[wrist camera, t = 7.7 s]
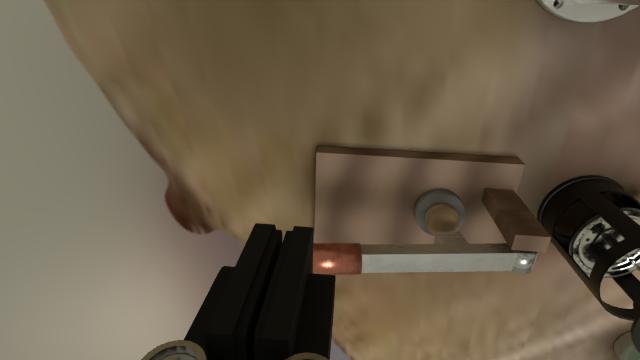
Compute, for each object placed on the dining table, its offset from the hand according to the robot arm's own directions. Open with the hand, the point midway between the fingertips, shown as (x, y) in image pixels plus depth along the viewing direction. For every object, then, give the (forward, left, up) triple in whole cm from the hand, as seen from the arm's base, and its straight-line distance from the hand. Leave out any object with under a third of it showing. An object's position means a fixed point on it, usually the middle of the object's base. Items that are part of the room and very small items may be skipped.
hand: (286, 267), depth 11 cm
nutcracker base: (-9, +14, -31) cm, 35 cm away
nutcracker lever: (-8, +14, -22) cm, 28 cm away
